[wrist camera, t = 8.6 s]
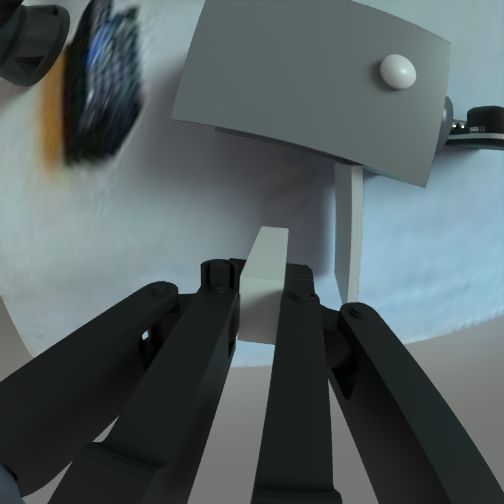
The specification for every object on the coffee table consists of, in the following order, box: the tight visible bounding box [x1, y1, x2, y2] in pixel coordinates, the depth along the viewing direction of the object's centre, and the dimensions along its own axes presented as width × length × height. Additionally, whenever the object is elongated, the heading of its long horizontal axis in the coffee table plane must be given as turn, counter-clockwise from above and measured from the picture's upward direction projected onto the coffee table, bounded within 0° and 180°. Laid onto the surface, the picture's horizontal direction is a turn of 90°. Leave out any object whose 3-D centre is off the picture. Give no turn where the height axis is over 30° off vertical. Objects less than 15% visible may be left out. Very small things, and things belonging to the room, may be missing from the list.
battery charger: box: [445, 106, 504, 151], centre depth 18 cm, size 7×4×11 cm, turn 96°
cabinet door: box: [334, 163, 363, 305], centre depth 24 cm, size 12×1×9 cm, turn 3°
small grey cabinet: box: [171, 0, 453, 188], centre depth 20 cm, size 20×12×13 cm, turn 76°
